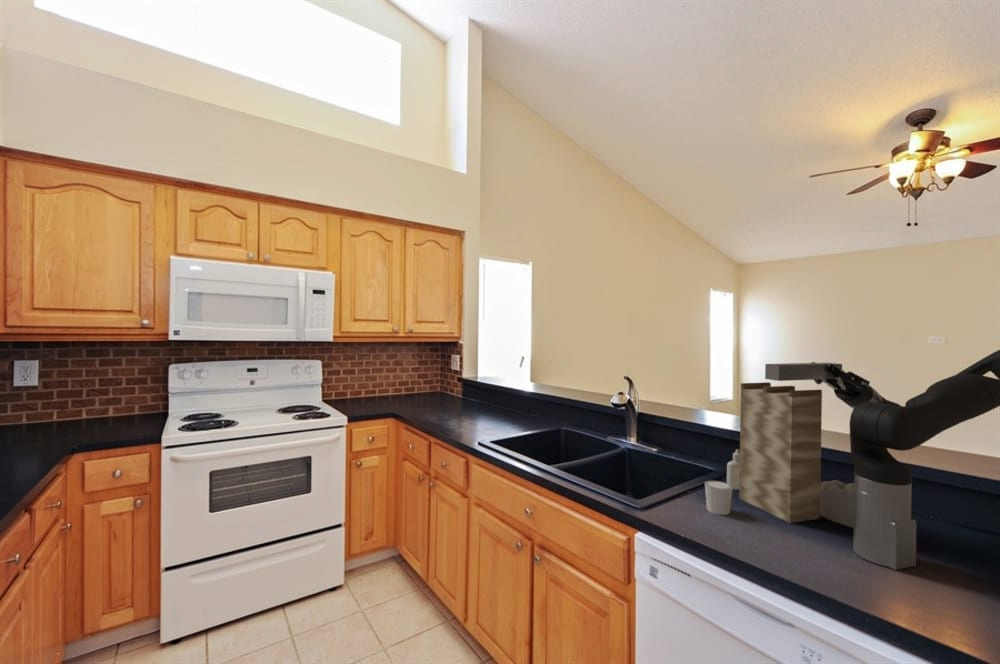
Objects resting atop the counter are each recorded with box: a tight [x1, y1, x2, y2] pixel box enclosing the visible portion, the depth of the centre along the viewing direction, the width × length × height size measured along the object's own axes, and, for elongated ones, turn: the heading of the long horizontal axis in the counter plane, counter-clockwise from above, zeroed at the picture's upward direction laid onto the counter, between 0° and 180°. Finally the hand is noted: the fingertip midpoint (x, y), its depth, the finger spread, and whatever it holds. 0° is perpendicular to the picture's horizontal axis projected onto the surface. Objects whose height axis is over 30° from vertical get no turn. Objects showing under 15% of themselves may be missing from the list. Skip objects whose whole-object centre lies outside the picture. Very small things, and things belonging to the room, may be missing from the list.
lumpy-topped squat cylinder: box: [820, 479, 855, 529], centre depth 113 cm, size 10×13×9 cm
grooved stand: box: [738, 381, 823, 524], centre depth 118 cm, size 16×10×34 cm, turn 16°
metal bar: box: [764, 362, 843, 382], centre depth 116 cm, size 4×22×4 cm, turn 106°
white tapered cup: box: [704, 480, 734, 516], centre depth 117 cm, size 7×7×7 cm
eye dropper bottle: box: [726, 448, 740, 491], centre depth 133 cm, size 4×6×12 cm
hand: (819, 365), depth 117 cm, fingers closed on metal bar, 4 cm apart
